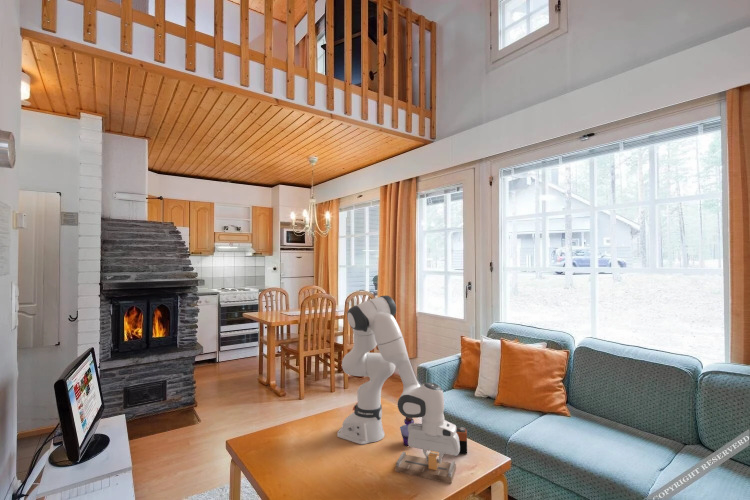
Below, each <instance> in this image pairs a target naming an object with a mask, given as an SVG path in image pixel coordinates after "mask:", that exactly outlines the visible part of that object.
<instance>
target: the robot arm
mask: <svg viewBox="0 0 750 500" xmlns="http://www.w3.org/2000/svg"><path fill="white" fill-rule="evenodd" d="M396 313H397V305H396V303H395V300H394V299H393V298H392V297H391V296H390V295H380V296H378V297H374V298H370V299H367V300H366V301H364V302H360V303H359V304H357V305H353V306H352V307H350V308H349V309H348V310H347V312H346V314H347V315H346V316H347V317H346V319H347V322H348V325H349V326H350V328H352V332H353V347H352V349H351V350H349V352H347V353H346V354H345V355H344V356H343V357H342V361H341V369H342V370H343V372H344V374H346V375H350V376H354V377H368V378H369V381H366V382H364V383H362V384H360V386H358V389H357V399H356V400H357V401H356V403H355V404H354V406H353V407H352V411H353V412H352V413H351V414H349V415H347V417H346V418H345V419H344V420H343V423H342V426H341V427H340V428H339V430H338V431H337V432H336V433H337V434H336V435H337V438H340V439H343V440H346V441H349V442H353V443H356V444H359V445H362V446H363V445H366V444H369V443H375V442H378V441H381V440H382V439H384V438H385V431H384V427H383V423H382V422H383V421H382V416H383V410H382V406H383V405H382V403H381V401H382V400H381V399H382V388H383V386H384V383H385V382H386V381H387V380H388V378H390V377H391V376H392V375H393V374H394V373H395V371H396V369H397V372H398V374H399V377H400V380H401V382H402V385H403V389H402V393H401V394H400V396H399V398H398V401H397V409H398V411H399V413H400V415H402V416H403V417H404V418H406V417H407V418H412V419H415V418H421V423H418V422H414V423H410V424H409V425H408V432H409V436H408V445H409V447H408V448H413V449H419V450H422V453H423V456H425V457H424V458H426V461H428V455H429V452H430V451H434V452H439V457H438V458H437V463H440V464H441V462H442V460H443V459H442V458H443V457H444V455H451V456H455V457H457V456H459V455H460V454H459V452H460V442H459V437H458V434H457V433H456V428H457V425H456V424H455V423H452V422H449V421H448V420H446V419H445V415H444V411H445V398H444V397H445V395H444V390H443V388H442V387H441V386H440V385H438V384H437V383H434V382H430V381H429V382H424V383H423V384H422V383H421V382H420V381H419V379H418V377H417V375H416V373H415V370H414V367H413V365H412V362H411V360H410V357H409V353H408V350H407V346H406V343H405V338H404V336H403V333H402V330H401V328H400V325H399V323H398V322H397V320H396V318H395V317H394V316H395V315H396ZM376 347H377V348H378V351H379V352H371V351H373V350H374V349H375V348H376ZM428 451H429V452H428Z"/></svg>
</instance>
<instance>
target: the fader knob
mask: <svg viewBox="0 0 750 500" xmlns="http://www.w3.org/2000/svg"><path fill="white" fill-rule="evenodd" d="M438 457H440V453H439V452H434V451H429V452H428V462H429V469H432V470H437V467H438V465H439V463H437V458H438Z"/></svg>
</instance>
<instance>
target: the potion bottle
mask: <svg viewBox="0 0 750 500" xmlns="http://www.w3.org/2000/svg"><path fill="white" fill-rule="evenodd" d="M403 421H404V422H403V423H404V424H403V425H401V426H400V427H399V430H400V434H401V437H402V441H403V446H404V447H407V446H409V445H408V436H409V432H408V425H409V424H410V423H415V420H414V418H407V417H405V419H404V420H403Z"/></svg>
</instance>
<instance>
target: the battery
mask: <svg viewBox="0 0 750 500" xmlns="http://www.w3.org/2000/svg"><path fill="white" fill-rule="evenodd" d="M456 433H457V434H458V437H459V442H460V452H459V454H458V455H467V454H468V434H467V433H468V432H467V429H466V428H465V427H464V426H463V427H456Z"/></svg>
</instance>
